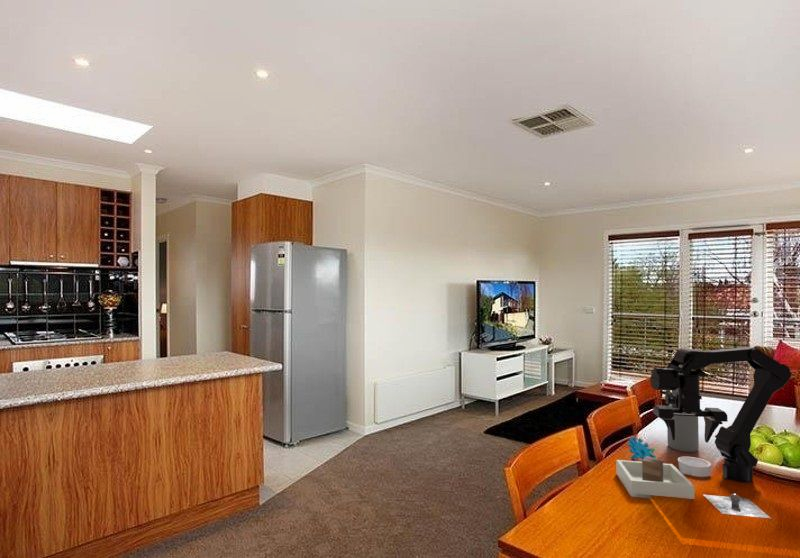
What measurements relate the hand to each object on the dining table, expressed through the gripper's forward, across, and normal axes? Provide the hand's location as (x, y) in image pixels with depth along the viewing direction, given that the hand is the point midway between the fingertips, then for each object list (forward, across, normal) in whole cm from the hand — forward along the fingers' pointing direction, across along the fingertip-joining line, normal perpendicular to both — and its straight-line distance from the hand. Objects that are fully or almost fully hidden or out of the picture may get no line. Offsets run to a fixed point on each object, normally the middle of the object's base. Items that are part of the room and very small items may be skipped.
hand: (689, 441), depth 138 cm
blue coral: (+12, +10, -13) cm, 20 cm away
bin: (+12, +13, +8) cm, 19 cm away
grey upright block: (+11, +13, +8) cm, 19 cm away
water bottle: (+12, -9, -31) cm, 35 cm away
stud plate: (+12, -4, +18) cm, 22 cm away
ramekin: (+12, -3, -5) cm, 14 cm away
